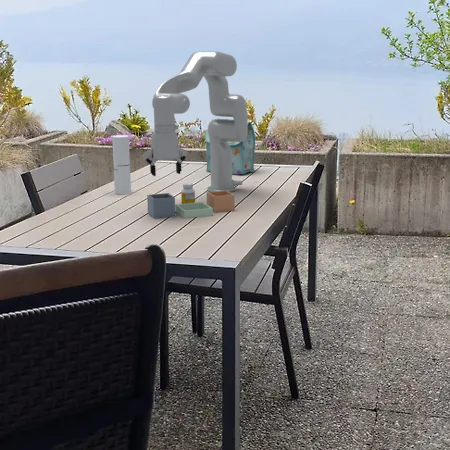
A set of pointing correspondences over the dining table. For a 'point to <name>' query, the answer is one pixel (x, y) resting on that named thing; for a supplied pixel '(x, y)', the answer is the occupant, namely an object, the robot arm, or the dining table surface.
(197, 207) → the green tray
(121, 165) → the cylindrical container
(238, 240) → the dining table surface
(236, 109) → the robot arm
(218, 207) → the terracotta square bin
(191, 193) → the supplement bottle
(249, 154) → the lunch bag
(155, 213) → the grey square bin
